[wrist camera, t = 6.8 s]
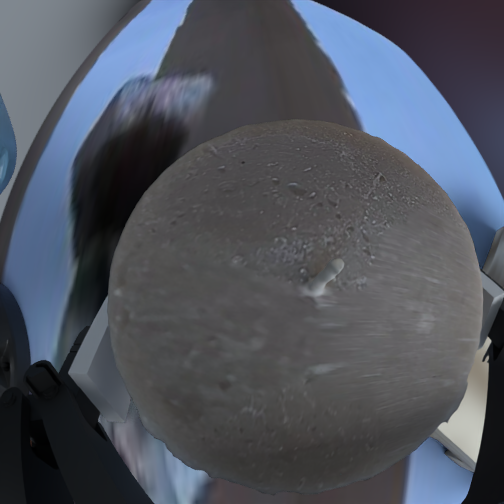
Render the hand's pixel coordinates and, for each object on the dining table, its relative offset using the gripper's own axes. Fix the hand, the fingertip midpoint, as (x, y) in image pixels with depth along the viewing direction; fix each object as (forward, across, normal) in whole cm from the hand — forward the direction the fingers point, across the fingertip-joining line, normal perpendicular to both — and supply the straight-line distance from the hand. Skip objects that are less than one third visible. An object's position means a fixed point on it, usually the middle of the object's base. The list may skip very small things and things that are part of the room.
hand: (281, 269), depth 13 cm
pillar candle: (+3, 0, -6) cm, 7 cm away
